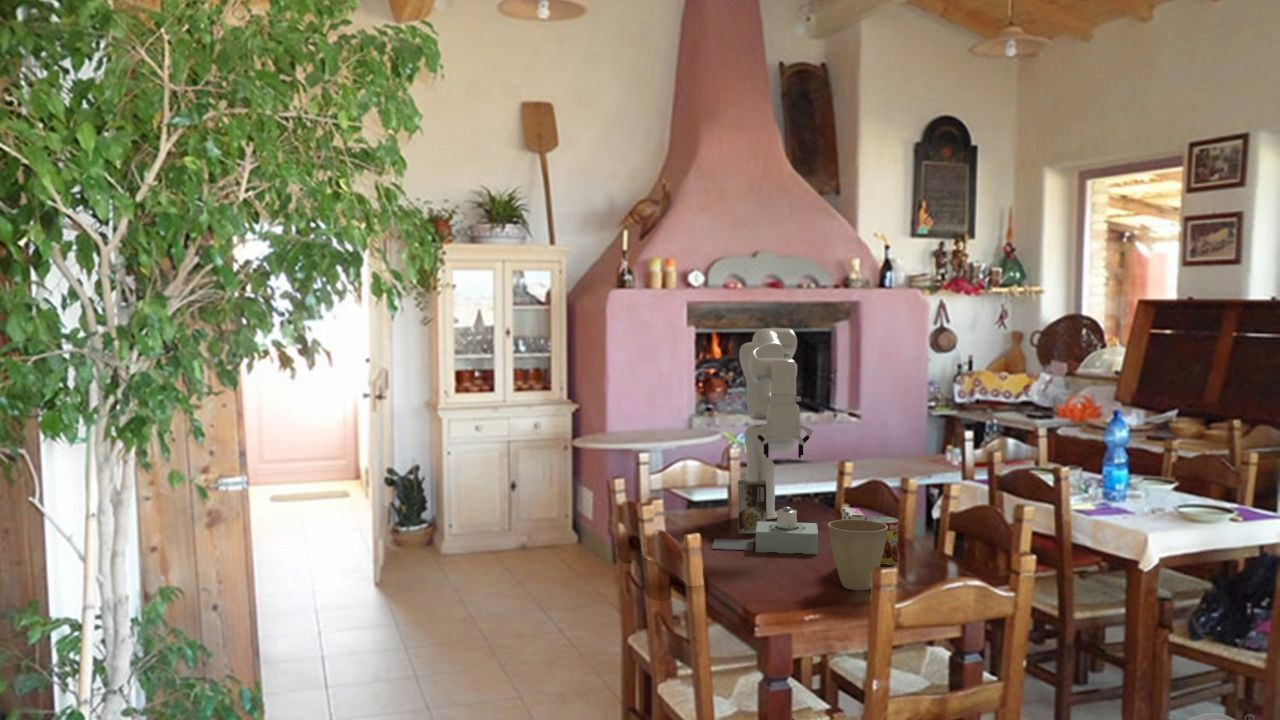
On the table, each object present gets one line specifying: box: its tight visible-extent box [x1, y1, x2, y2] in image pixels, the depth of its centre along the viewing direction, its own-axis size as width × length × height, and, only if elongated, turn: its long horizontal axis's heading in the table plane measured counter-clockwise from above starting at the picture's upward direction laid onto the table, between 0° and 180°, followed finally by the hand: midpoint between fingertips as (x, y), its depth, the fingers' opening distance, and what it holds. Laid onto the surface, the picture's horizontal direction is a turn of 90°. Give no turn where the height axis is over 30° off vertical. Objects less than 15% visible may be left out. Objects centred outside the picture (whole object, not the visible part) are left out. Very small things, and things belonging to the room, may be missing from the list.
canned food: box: [869, 515, 899, 566], centre depth 269 cm, size 8×8×12 cm
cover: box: [776, 506, 798, 530], centre depth 285 cm, size 6×6×10 cm
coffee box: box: [737, 479, 768, 534], centre depth 305 cm, size 9×6×16 cm
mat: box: [711, 538, 755, 552], centre depth 287 cm, size 12×12×1 cm
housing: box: [755, 521, 819, 555], centre depth 285 cm, size 14×18×6 cm
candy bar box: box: [841, 507, 868, 520], centre depth 259 cm, size 11×5×16 cm, turn 178°
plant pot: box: [827, 519, 888, 591], centre depth 244 cm, size 15×15×16 cm
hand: (783, 457), depth 285 cm, fingers open, 9 cm apart
